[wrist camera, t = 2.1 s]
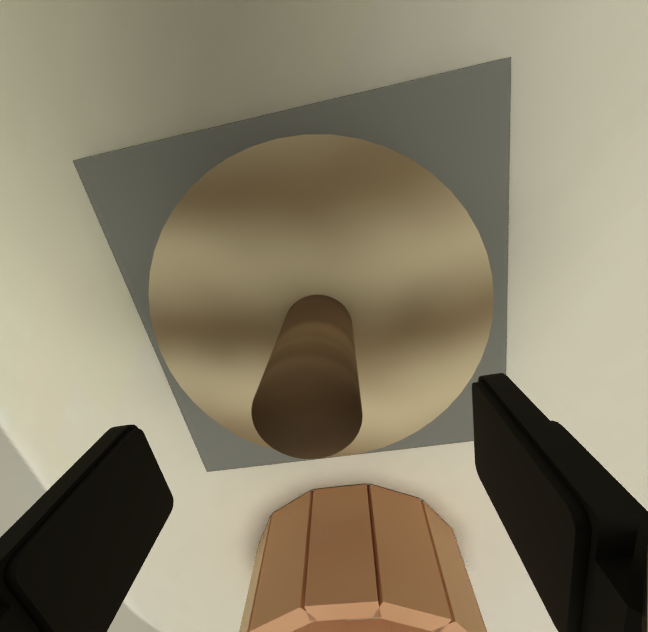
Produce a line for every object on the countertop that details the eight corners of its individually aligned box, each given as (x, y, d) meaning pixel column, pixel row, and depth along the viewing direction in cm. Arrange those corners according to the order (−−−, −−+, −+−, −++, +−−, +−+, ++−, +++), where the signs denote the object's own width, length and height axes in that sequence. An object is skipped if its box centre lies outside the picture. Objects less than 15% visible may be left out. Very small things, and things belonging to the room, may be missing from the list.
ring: (237, 497, 21) (200, 613, 15) (449, 475, 19) (495, 593, 14) (285, 617, 25) (271, 739, 20) (458, 606, 24) (494, 734, 18)
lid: (105, 182, 13) (-117, 178, 7) (480, 96, 12) (660, -17, 5) (218, 457, 19) (154, 602, 12) (485, 424, 17) (577, 569, 11)
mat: (82, 161, 14) (72, 160, 13) (504, 62, 12) (511, 57, 11) (210, 465, 20) (206, 471, 19) (500, 430, 18) (505, 437, 17)
